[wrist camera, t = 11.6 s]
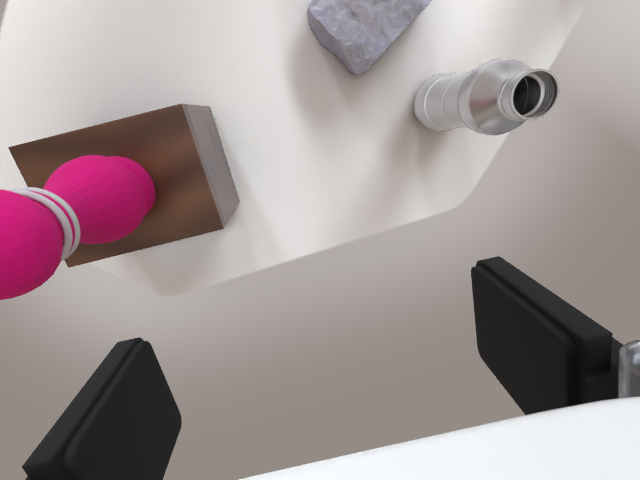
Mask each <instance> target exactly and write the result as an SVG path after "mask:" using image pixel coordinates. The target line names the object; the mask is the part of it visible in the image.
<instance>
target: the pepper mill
mask: <svg viewBox="0 0 640 480" xmlns="http://www.w3.org/2000/svg"><path fill="white" fill-rule="evenodd" d="M154 202H155V186H154V183H153V181H152V179H151V177H150V175H149V174H148V172H147V171H146V170H145V169H144V168H143V167H142V166H141V165H140V164H138V163H136V162H135V161H133V160H131V159H128V158H125V157H120V156H111V157H105V156H99V155H87V156H81V157H78V158H76V159H73V160H71V161H68V162H66V163H64V164H63V165H61V166H60V167H59V168H58V169H57V170H56V171H55V172H54V173H53V174H52V175H51V176H50V177H49V178H48V180H47V181H46V183H45V185H44V188H43V189H40V188H34V187H24V188H18V189H15V190H12V191H7V190H0V300H3V299H10V298H14V297H17V296H20V295H23V294H25V293H28V292H30V291H32V290H34V289H35V288H37V287H39V286H41V285H42V284H43V283H44V282H45V281H47V280H48V279H49V278H50V277H51V276H52V275H53V274H54V272H55V270H56V269H57V267H58V265H59V263H60V262H61V261H62V260H64V259H66V258H68V257H69V256H70V255H71V254H72V253H73V252H74V251H75V249H76V248H77V246H78V244H79V243H85V244H101V243H108V242H113V241H116V240H118V239H121V238H123V237H125V236H127V235H129V234H130V233H132V232H133V231H134V230H135V229H136V228H137V227H138V226H139V224H140V223H141V221H142V219H143V217H144V216H146V215H147V214H148V213H149V212H150V210H151V209H152V207H153V205H154Z"/></svg>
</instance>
